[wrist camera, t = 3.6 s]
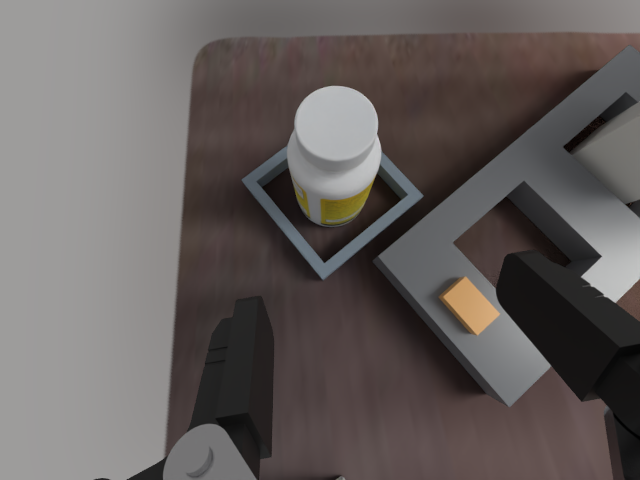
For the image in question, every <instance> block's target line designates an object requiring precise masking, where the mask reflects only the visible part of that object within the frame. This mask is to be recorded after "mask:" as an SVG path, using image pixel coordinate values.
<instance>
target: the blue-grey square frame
mask: <svg viewBox="0 0 640 480" xmlns="http://www.w3.org/2000/svg"><path fill="white" fill-rule="evenodd" d="M287 147H288V145H287V146H286V147H285V148H283V149H282V150H281V151H279V152H278V153H277V154H275V155H274V156H273V157H271V158H270V159H269V160H267V161H266V162H265V163H263V164H262V165H261V166H259V167H258V168H257V169H255V170H254V171H253V172H251V173H250V174H249V175H247V176H246V177H245V178H243V179H242V182H243V183H244V185H245V186H246V187H247V189H248V190H249V191H250V192H251V194H252V195H253V196H254V197H255V198H256V200H257V201H258V202H259V203H260V205H261V206H262V207H263V208H264V209H265V211H266V212H267V213H268V214H269V216H270V217H271V218H272V219H273V220H274V222H275V223H276V224H277V225H278V227H279V228H280V229H281V230H282V231H283V233H284V234H285V235H286V236H287V238H288V239H289V240H290V241H291V242H292V244H293V245H294V246H295V247H296V249H297V250H298V251H299V252H300V253H301V255H302V256H303V257H304V258H305V260H306V261H307V262H308V263H309V264H310V266H311V267H312V268H313V269H314V271H315V272H316V273H317V274H318V275H319V277H320V278H321V279H322V280H325V279H326V278H327V277H328V276H330V275H331V274H332V273H333V272H334V271H336V270H337V269H338V268H339V267H340V266H342V265H343V264H344V263H345V262H346V261H348V260H349V259H350V258H351V257H352V256H354V255H355V254H356V253H357V252H358V251H360V250H361V249H362V248H363V247H364V246H366V245H367V244H368V243H369V242H370V241H372V240H373V239H374V238H375V237H376V236H378V235H379V234H380V233H381V232H383V231H384V230H385V229H386V228H387V227H389V226H390V225H391V224H392V223H393V222H395V221H396V220H397V219H398V218H399V217H401V216H402V215H403V214H404V213H405V212H407V211H408V210H409V209H410V208H411V207H413V206H414V205H415V204H416V203H417V202H418V201H419V200H420V199H421V198H422V197H423V195H422V194H421V193H420V191H419V190H418V189H417V188H416V187H415V186H414V185H413V184H412V183H411V182H410V181H409V180H408V179H407V178H406V177H405V176H404V174H403V173H402V172H401V171H400V170H399V169H398V168H397V167H396V166H395V165H394V164H393V163H392V162H391V161H390V160H389V159H388V158H387V156H386V155H385V154H384V153H383V152H382V151H381V161H380V166H379V169H378V172H377V174H378V175H379V176H380V177H381V178H382V179H383V180H384V181H385V182H386V183H387V185H388V186H389V187H390V188H391V189H392V190H393V191H394V192H395V193H396V194H397V195H398V196H399V198H400V199H401V201H400V202H399V203H397V204H396V205H395V206H394V207H393V208H391V209H390V210H389V211H388V212H387V213H385V214H384V215H383V216H382V217H380V218H379V219H378V220H377V221H376V222H374V223H373V224H372V225H371V226H369V227H368V228H367V229H366V230H365V231H363V232H362V233H361V234H360V235H359V236H357V237H356V238H355V239H354V240H352V241H351V242H350V243H349V244H348V245H346V246H345V247H344V248H343V249H341V250H340V251H339V252H338V253H337V254H335V255H334V256H333V257H332V258H331V259H329V260H328V261H327V262H326V263H324V262H323V261H322V260H321V259H320V258H319V256H318V255H317V254H316V253H315V251H314V250H313V249H312V248H311V247H310V245H309V244H308V243H307V242H306V241H305V239H304V238H303V237H302V236H301V235H300V233H299V232H298V231H297V230H296V229H295V227H294V226H293V225H292V224H291V223H290V221H289V220H288V219H287V218H286V217H285V215H284V214H283V213H282V212H281V210H280V209H279V208H278V207H277V206H276V204H275V203H274V202H273V201H272V200H271V198H270V197H269V196H268V195H267V194H266V192H265V191H264V190H263V189H262V187H263V186H265V185H266V184H267V183H268V182H270V181H271V180H272V179H274V178H275V177H276V176H278V175H279V174H280V173H282V172H283V171H284V170H286V169H287V168H288V167H289V166H288V160H287Z"/></svg>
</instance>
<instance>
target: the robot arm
mask: <svg viewBox="0 0 640 480" xmlns="http://www.w3.org/2000/svg"><path fill="white" fill-rule="evenodd" d="M496 296H497V299H498V302H499V304H500V305H501V307H502V308H503V309H504V311H505V312H506V313H507V314H508V315H509V316H510V318H511V319H512V320H513V321H514V322H515V324H516V325H517V326H518V327H519V328H520V329H521V331H522V332H523V333H524V334H525V335H526V337H527V338H528V339H529V340H530V341H531V342H532V344H533V345H534V346H535V347H536V348H537V350H538V351H539V352H540V353H541V354H542V355H543V357H544V358H545V359H546V360H547V361H548V363H549V364H550V365H551V366H552V367H553V368H554V370H555V371H556V372H557V373H558V374H559V376H560V377H561V378H562V379H563V380H564V381H565V383H566V384H567V385H568V386H569V387H570V389H571V390H572V391H573V392H574V393H575V394H576V396H577V397H578V398H579V399H580V400H581V402H584V401H589V400H594V399H600V398H601V399H602V400H603V401H604V403H605V404H606V405H607V406H606V407H605V410H604V419H605V426H606V433H607V439H608V446H609V453H610V460H611V467H612V473H613V480H640V322H639V321H638V320H637V319H635V318H634V317H633V316H631V315H630V314H629V313H627V312H626V311H625V310H624V309H622V308H621V307H620V306H618V305H617V304H616V303H614V302H613V301H612V300H611V299H609V298H608V297H604V294H603V293H601V292H600V291H599V290H598V289H596V288H595V287H591V285H590V283H588V282H587V281H586V280H585V279H583V278H582V277H581V276H579V275H578V274H577V273H575V272H574V271H572V270H569V269H567V268H565V267H563V266H561V265H559V264H557V263H552V262H551V261H550V260H548V259H547V258H546V257H545V256H543V255H542V254H541V253H540V252H538V251H536V250H528V251H522V252H517V253H511V254H508V255H506V257H505V258H504V262H503V265H502V269H501V272H500V276H499V280H498V283H497V287H496ZM208 351H209V352H208V353H207V357H206V361H205V367H204V370H203V374H202V378H201V382H200V386H199V390H198V395H197V399H196V403H195V407H194V411H193V415H192V420H191V423H190V426H189V428H188V430H187V432H186V434H185V435H184V436H182V437H181V438H180V439H179V441H178V442H177V443H176V444H175V445H174V447H173V448H172V450H171V452H170V454H169V455H168V456H167V457H165V458H164V459H163V460H161V461H160V462H158V463H157V464H155V465H153V466H151V467H149V468H148V469H146V470H144V471H142V472H140V473H138V474H137V475H134V476H133V477H131V478H129V479H127V480H259V468H260V459H264V458H269V457H271V455H272V412H273V369H274V337H273V331H272V327H271V323H270V320H269V317H268V314H267V311H266V308H265V305H264V302H263V299H262V297H261V296H255V297H249V298H244V299H238V300H237V301H236V303H235V309H234V314H233V317H232V318H226V319H222V320H221V321H220V323H219V324H218V326H217V327H216V329H215V330H214V332H213V333H212V336H211V340H210V345H209V349H208ZM95 480H109V479H105V478H100V479H95Z"/></svg>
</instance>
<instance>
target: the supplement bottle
mask: <svg viewBox="0 0 640 480" xmlns="http://www.w3.org/2000/svg"><path fill="white" fill-rule="evenodd" d="M294 126H295V129H294V131H293V133H292V135H291V137H290V140H289V143H288V147H287V160H288V166H289V170H290V174H291V178H292V182H293V185H294V189H295V194H296V197H297V201H298V204H299V206H300V208H301V210H302V212H303V213H304V214H305V216H306V217H307V218H308V219H310V220H311V221H312V222H314V223H316V224H318V225H321V226H325V227H338V226H342V225H345V224H347V223H349V222H350V221H352V220H353V219H354V218H356V217H357V215H358V214H359V213H360V212H361V210H362V208H363V206H364V204H365V202H366V199H367V197H368V195H369V192H370V190H371V187H372V184H373V182H374V179H375V177H376V174H377V172H378V169H379V166H380V161H381V145H380V141H379V138H378V136H377V131H378V118H377V114H376V111H375V109H374V107H373V105H372V104H371V102H370V101H369V100H368V99H367V98H366V97H365V96H364V95H363V94H361V93H360V92H358V91H356V90H354V89H351V88H348V87H343V86H329V87H324V88H321V89H318V90H316V91H314V92H313V93H311V94H310V95H309V96H307V97H306V98H305V99H304V100H303V102H302V103H301V104H300V106H299V108H298V110H297V112H296V116H295V122H294Z"/></svg>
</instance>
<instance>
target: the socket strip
mask: <svg viewBox="0 0 640 480" xmlns="http://www.w3.org/2000/svg"><path fill="white" fill-rule="evenodd" d="M598 116H600V117H601V118H603V119H604V120H605V121H606V123H605V124H603V125H601V126H600V127H598V128H597V129H596V130H594V131H593V132H592V133H591V134H590V135H589V136H588V137H586V138H585V139H584V140H583V141H582V142H581V143H580V144H578V145H577V146H576V147H575V148H574V149H573V150H572V151H570V152H569V153H568V152H567V151H566V150H565V149H564V148H563V146H564V145H565V144H567V143H568V142H569V141H570V140H571V139H572V138H574V137H575V136H576V135H577V134H578V133H579V132H580V131H582V130H583V129H584V128H585V127H586V126H587V125H588V124H590V123H591V122H592V121H593V120H594V119H595V118H597V117H598ZM506 196H507V197H508V198H509V199H510V200H511V201H512V202H513V203H514V204H515V205H516V206H517V207H518V208H519V209H520V210H521V211H522V212H523V213H524V214H525V215H526V216H527V217H528V218H529V219H530V220H531V221H532V222H533V223H534V224H535V225H536V226H537V227H538V228H539V229H540V230H541V231H542V232H543V233H544V234H545V235H546V236H547V237H548V238H549V239H550V240H551V241H552V242H553V243H554V244H555V245H556V246H557V247H558V248H559V249H560V250H561V251H562V252H563V253H564V254H565V255H566V256H567V257H568V258H569V259H570V260H571V262H570V263H569V264H568V265H567V266H566V267H565V268H567V269H569V270H572V271H574V272H575V273H577V274H578V275H579V276H581V277H582V278H583V279H585V280H586V281H587V282H588V283H590V285H591V287H595V288H596V289H598V290H599V291H600V292H601V293H603V294H604V297H608V298H609V299H611V300H612V301H613V302H614V303H616V302H617V301H618V300H619V299H620V298H621V297H622V296H623V295H624V294H625V293H626V292H627V291H628V290H629V289H630V288H631V287H632V286H633V285H634V284H635V283H636V282H637V281H638V280H639V279H640V53H639V52H638V51H637V50H636V49H635V48H633V47H632V46H631V45H628V46H627V47H626V48H625V49H624V50H622V51H621V52H620V53H619V54H618V55H616V56H615V57H614V58H613V59H612V60H610V61H609V62H608V63H607V64H606V65H604V66H603V67H602V68H601V69H600V70H598V71H597V72H596V73H595V74H594V75H593V76H591V77H590V78H589V79H588V80H587V81H585V82H584V83H583V84H582V85H581V86H579V87H578V88H577V89H576V90H575V91H574V92H572V93H571V94H570V95H569V96H568V97H566V98H565V99H564V100H563V101H562V102H560V103H559V104H558V105H557V106H556V107H555V108H553V109H552V110H551V111H550V112H549V113H547V114H546V115H545V116H544V117H543V118H541V119H540V120H539V121H538V122H537V123H535V124H534V125H533V126H532V127H531V128H530V129H528V130H527V131H526V132H525V133H524V134H522V135H521V136H520V137H519V138H518V139H516V140H515V141H514V142H513V143H512V144H511V145H509V146H508V147H507V148H506V149H505V150H503V151H502V152H501V153H500V154H499V155H497V156H496V157H495V158H494V159H493V160H491V161H490V162H489V163H488V164H487V165H486V166H484V167H483V168H482V169H481V170H480V171H478V172H477V173H476V174H475V175H474V176H472V177H471V178H470V179H469V180H468V181H467V182H465V183H464V184H463V185H462V186H461V187H459V188H458V189H457V190H456V191H455V192H453V193H452V194H451V195H450V196H449V197H447V198H446V199H445V200H444V201H443V202H442V203H440V204H439V205H438V206H437V207H436V208H434V209H433V210H432V211H431V212H430V213H428V214H427V215H426V216H425V217H424V218H423V219H421V220H420V221H419V222H418V223H417V224H415V225H414V226H413V227H412V228H411V229H409V230H408V231H407V232H406V233H405V234H404V235H402V236H401V237H400V238H399V239H398V240H396V241H395V242H394V243H393V244H392V245H390V246H389V247H388V248H387V249H386V250H384V251H383V252H382V253H381V254H380V255H379V256H377V257H376V258H375V259H374V260H373V261H372V262H373V263H374V264H375V265H376V266H377V268H378V269H379V270H380V271H381V272H382V273H383V274H384V276H385V277H386V278H387V279H388V280H389V281H390V283H391V284H392V285H393V286H394V287H395V288H396V290H397V291H398V292H399V293H400V294H401V295H402V296H403V298H404V299H405V300H406V301H407V302H408V303H409V305H410V306H411V307H412V308H413V309H414V310H415V311H416V313H417V314H418V315H419V316H420V317H421V318H422V320H423V321H424V322H425V323H426V324H427V325H428V327H429V328H430V329H431V330H432V331H433V332H434V333H435V335H436V336H437V337H438V338H439V339H440V340H441V342H442V343H443V344H444V345H445V346H446V347H447V349H448V350H449V351H450V352H451V353H452V354H453V355H454V357H455V358H456V359H457V360H458V361H459V362H460V364H461V365H462V366H463V367H464V368H465V369H466V371H467V372H468V373H469V374H470V375H471V376H472V377H473V379H474V380H475V381H476V382H477V383H478V384H479V386H480V387H481V388H482V389H483V390H484V391H485V393H486V394H487V395H489V396H491V397H492V398H494V399H496V400H498V401H499V402H501V403H503V404H505V405H506V406H508V407H510V406H511V405H512V404H513V403H514V402H515V401H516V400H517V399H518V398H519V397H520V396H521V395H522V394H523V393H525V392H526V391H527V390H528V389H529V388H530V387H531V386H532V385H533V384H534V383H535V382H536V381H537V380H538V379H539V378H540V377H541V376H542V375H543V374H544V373H545V372H546V371H547V370H548V369H549V368H550V367H551V365H550V364H549V363H548V361H547V360H546V359H545V358H544V357H543V355H542V354H541V353H540V352H539V351H538V350H537V348H536V347H535V346H534V345H533V344H532V342H531V341H530V340H529V339H528V338H527V337H526V335H525V334H524V333H523V332H522V331H521V329H520V328H519V327H518V326H517V325H516V324H515V322H514V321H513V320H512V319H511V318H510V316H509V315H508V314H507V313H506V312H505V311H504V309H503V308H502V307H501V305H500V304H499V302H498V299H497V296H496V289H495V288H494V287H493V286H492V285H491V283H490V282H489V281H488V280H487V279H486V278H485V277H484V276H483V275H482V274H481V273H480V272H479V271H478V270H477V268H476V267H475V266H474V265H473V264H472V263H471V262H470V261H469V260H468V259H467V258H466V257H465V256H464V255H463V253H462V252H461V251H460V250H459V249H458V248H457V247H456V246H455V245H454V244H453V242H454V241H455V240H456V239H457V238H458V237H459V236H461V235H462V234H463V233H464V232H465V231H466V230H467V229H469V228H470V227H471V226H472V225H473V224H474V223H476V222H477V221H478V220H479V219H480V218H481V217H482V216H484V215H485V214H486V213H487V212H488V211H489V210H491V209H492V208H493V207H494V206H495V205H496V204H497V203H499V202H500V201H501V200H502V199H503V198H504V197H506ZM633 201H635V202H634V203H633V204H632V205H631V206H630V207H629V208H628V207H627V206H626V205H625V204H627V203H630V202H633Z"/></svg>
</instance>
